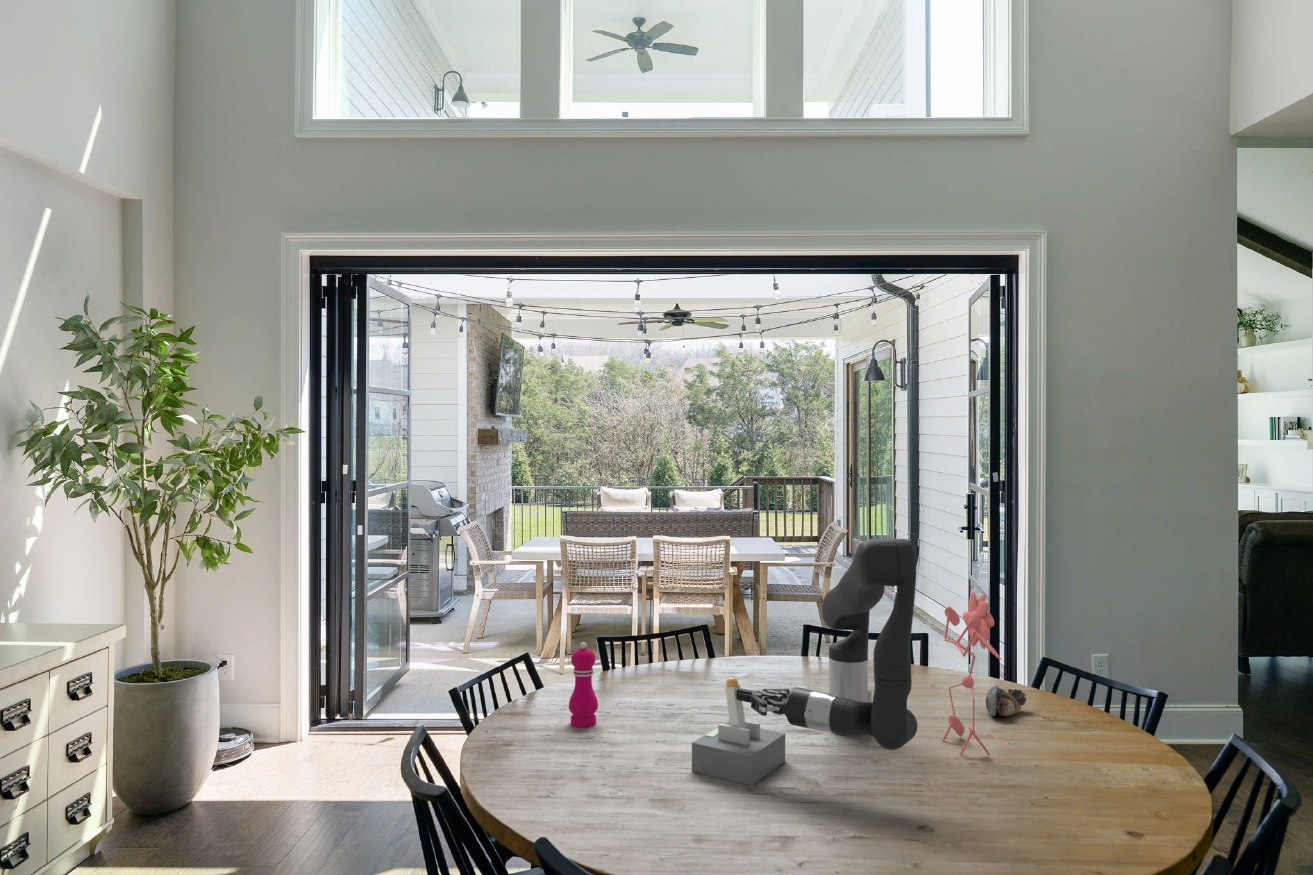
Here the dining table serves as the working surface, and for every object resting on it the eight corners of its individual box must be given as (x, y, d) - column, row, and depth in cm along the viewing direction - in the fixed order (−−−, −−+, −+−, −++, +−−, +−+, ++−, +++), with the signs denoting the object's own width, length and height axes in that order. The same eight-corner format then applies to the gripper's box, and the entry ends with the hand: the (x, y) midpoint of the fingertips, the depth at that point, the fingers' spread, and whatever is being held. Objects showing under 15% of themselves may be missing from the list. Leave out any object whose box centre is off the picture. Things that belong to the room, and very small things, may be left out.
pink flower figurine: (974, 769, 180) (977, 603, 180) (924, 729, 206) (927, 583, 206) (1043, 768, 181) (1046, 603, 182) (985, 728, 207) (988, 584, 208)
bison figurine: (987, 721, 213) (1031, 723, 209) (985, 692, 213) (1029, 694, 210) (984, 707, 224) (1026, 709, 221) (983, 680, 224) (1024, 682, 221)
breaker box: (728, 748, 193) (728, 708, 193) (785, 761, 185) (785, 719, 185) (691, 771, 180) (691, 728, 180) (751, 785, 172) (751, 741, 172)
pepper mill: (593, 729, 206) (593, 646, 206) (564, 727, 207) (564, 644, 208) (601, 719, 213) (601, 639, 213) (573, 717, 215) (573, 638, 215)
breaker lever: (737, 734, 184) (729, 675, 186) (748, 735, 183) (739, 675, 184) (731, 738, 182) (722, 678, 183) (741, 739, 180) (733, 678, 182)
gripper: (826, 683, 179) (752, 669, 188) (801, 699, 168) (723, 683, 177) (826, 719, 179) (751, 703, 188) (800, 737, 168) (722, 719, 177)
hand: (738, 693), depth 183 cm, fingers closed
